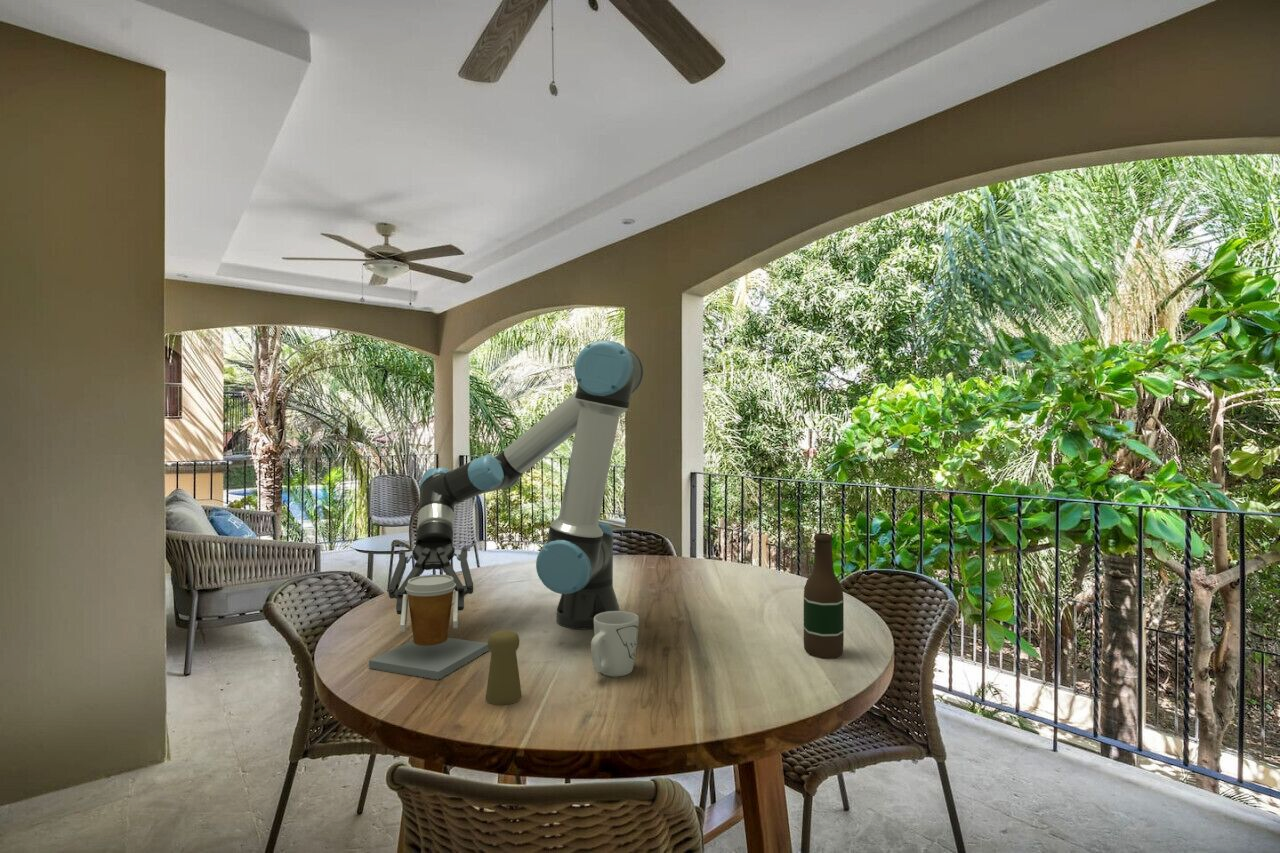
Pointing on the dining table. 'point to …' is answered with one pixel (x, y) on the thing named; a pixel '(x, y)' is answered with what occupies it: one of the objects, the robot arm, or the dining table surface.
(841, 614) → the beer bottle
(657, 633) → the dining table surface
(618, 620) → the mug
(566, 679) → the dining table surface
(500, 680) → the olive pawn
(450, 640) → the slate board
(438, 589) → the disposable coffee cup
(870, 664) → the dining table surface
